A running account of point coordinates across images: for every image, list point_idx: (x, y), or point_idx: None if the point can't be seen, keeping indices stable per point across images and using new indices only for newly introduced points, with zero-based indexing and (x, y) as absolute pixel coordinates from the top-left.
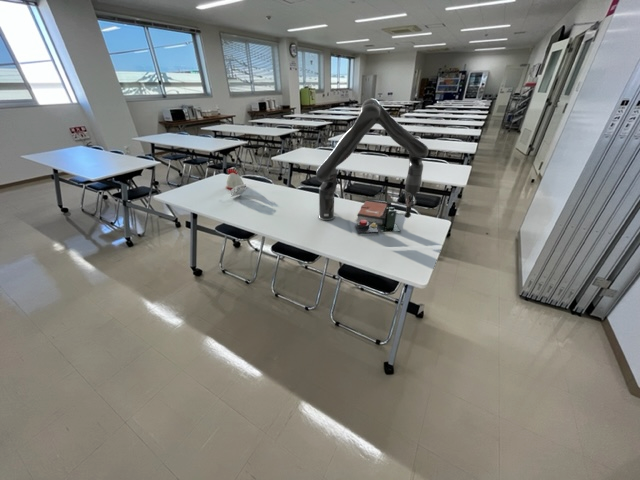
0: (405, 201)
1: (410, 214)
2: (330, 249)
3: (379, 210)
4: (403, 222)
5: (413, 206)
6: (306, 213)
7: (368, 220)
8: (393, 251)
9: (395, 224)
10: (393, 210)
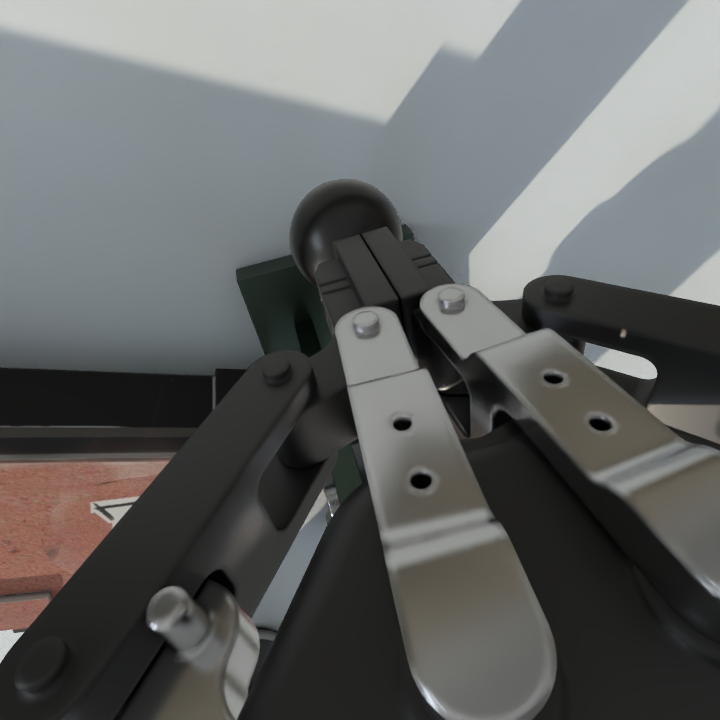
0: (282, 473)
1: (374, 198)
2: None
3: (48, 499)
4: (94, 161)
5: (583, 282)
6: None
7: None
8: (680, 282)
9: (256, 282)
10: None
